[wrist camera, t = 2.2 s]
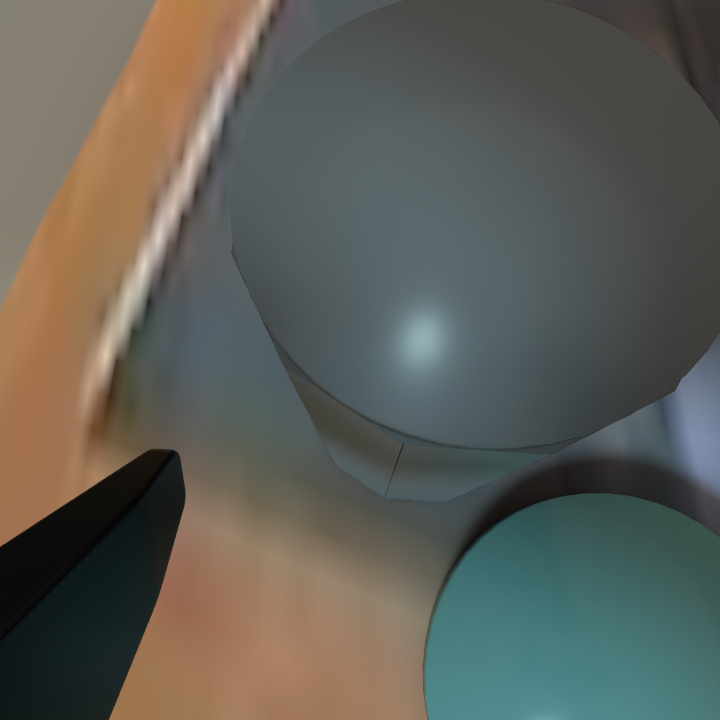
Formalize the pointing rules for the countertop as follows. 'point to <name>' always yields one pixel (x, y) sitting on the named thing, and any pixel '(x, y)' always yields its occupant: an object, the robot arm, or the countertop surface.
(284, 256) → the grey faceted cylinder
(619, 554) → the dish
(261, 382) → the countertop surface
